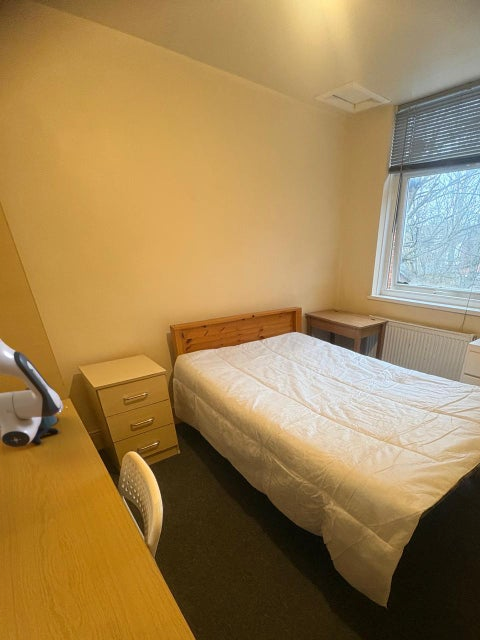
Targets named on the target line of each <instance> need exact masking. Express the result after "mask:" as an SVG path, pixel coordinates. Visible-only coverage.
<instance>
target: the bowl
mask: <svg viewBox="0 0 480 640" xmlns="http://www.w3.org/2000/svg"><path fill="white" fill-rule="evenodd" d="M57 422H58V417H57V415H54V416H48V417H42V420H41V423H40V425H39V427H38V428H43V427H52V426H53V425H55V424H56V423H57Z"/></svg>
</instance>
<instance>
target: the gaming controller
mask: <svg viewBox="0 0 480 640" xmlns="http://www.w3.org/2000/svg"><path fill="white" fill-rule="evenodd" d="M59 432H60V431H59V429H58V428H57V427H52V426H49V427H43V428H38V430H37V433H36V435H35V437H34V438H33V440H32V441H31V442H30V443H32V444H33V445H36V446H39V445H41V444H42V441H41V438H40V437H42V436H44V435H45V434H50V435H57V434H59Z"/></svg>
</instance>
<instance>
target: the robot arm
mask: <svg viewBox="0 0 480 640" xmlns="http://www.w3.org/2000/svg"><path fill="white" fill-rule="evenodd" d="M0 375H5V376H12V377H15V378H18V379H20V380H21V381H23V383H24V384H25V385H26V386H27V388H30V389H31V390H17V391H16V390H15V391H14V390H13V391H7V392H0V440H1V442H2V443H3V444H4V445H5V446H7V447H12V448H20V447H21V448H22V447H26V446H27V445H29V444H30V443H32V442H31V441H32V440H33V438H34V437H35V435H36V433H37V430H38V427H39V425H40V423H41V420H42V417H48V416H54V415H56V416H57V415H59V414H60V413H61V412H62V411H63V409H64V405H63V404H64V403H63V401H62V400H61V397H60V395H59V394H58V393H57V391H56V390H55V389H54V388H53V387H52V386H51V385H50V384H49V383H48V382H47V380H46V379H45V378H44V377H43V376H42V374H41V373H40V371H39V370H38V369H37V368H36V366H35V365H34V364H33V363H32V362H31V360H30V359H29V358H28V356H26V355H25V354H24V353H23V352H20V351H17V350H15V349H13V348H11V347H10V346H9V345H7V344H6V343H5V342H4V340H2V339H1V337H0Z"/></svg>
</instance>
